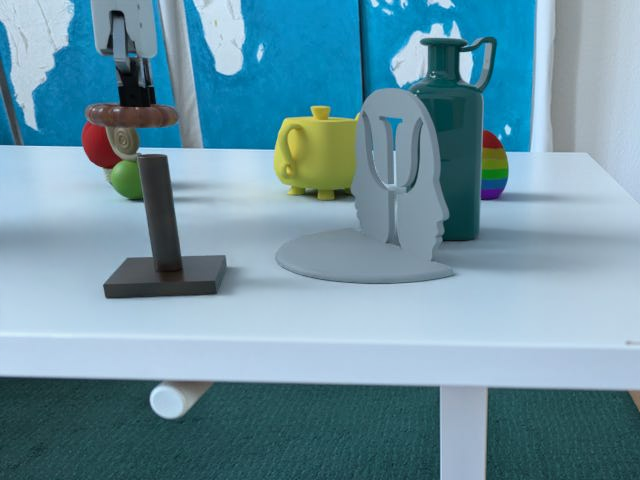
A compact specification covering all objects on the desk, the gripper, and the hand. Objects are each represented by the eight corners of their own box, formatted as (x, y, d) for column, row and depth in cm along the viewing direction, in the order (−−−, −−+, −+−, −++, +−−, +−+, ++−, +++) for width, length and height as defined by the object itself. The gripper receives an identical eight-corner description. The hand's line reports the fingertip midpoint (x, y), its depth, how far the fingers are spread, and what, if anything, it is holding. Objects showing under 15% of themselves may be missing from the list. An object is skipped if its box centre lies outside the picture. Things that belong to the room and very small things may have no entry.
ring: (77, 127, 76) (73, 105, 75) (100, 120, 85) (97, 101, 84) (172, 130, 78) (169, 109, 77) (185, 123, 87) (183, 104, 86)
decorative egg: (451, 199, 108) (452, 130, 104) (459, 190, 115) (460, 126, 111) (505, 202, 107) (508, 133, 103) (509, 193, 114) (512, 128, 110)
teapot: (251, 195, 106) (242, 105, 101) (342, 180, 122) (338, 101, 117) (318, 206, 99) (313, 110, 94) (405, 189, 115) (404, 106, 110)
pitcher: (409, 241, 82) (408, 32, 73) (405, 225, 89) (403, 35, 81) (492, 240, 83) (500, 36, 75) (481, 225, 91) (487, 38, 82)
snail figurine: (133, 193, 104) (119, 107, 100) (164, 198, 102) (151, 110, 97) (101, 199, 100) (84, 109, 95) (132, 203, 97) (117, 112, 93)
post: (105, 298, 60) (79, 162, 56) (129, 269, 68) (108, 149, 64) (216, 293, 62) (200, 162, 57) (227, 266, 70) (213, 149, 66)
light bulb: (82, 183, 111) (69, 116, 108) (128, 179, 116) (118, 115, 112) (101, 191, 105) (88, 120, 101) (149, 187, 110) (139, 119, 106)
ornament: (457, 274, 70) (460, 93, 63) (335, 296, 62) (324, 93, 55) (351, 231, 85) (345, 83, 79) (243, 245, 78) (227, 82, 71)
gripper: (100, -47, 84) (123, 116, 91) (56, -69, 69) (88, 127, 77) (167, -42, 86) (184, 118, 93) (139, -62, 71) (162, 129, 78)
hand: (140, 120), depth 85 cm, fingers closed on ring, 2 cm apart
